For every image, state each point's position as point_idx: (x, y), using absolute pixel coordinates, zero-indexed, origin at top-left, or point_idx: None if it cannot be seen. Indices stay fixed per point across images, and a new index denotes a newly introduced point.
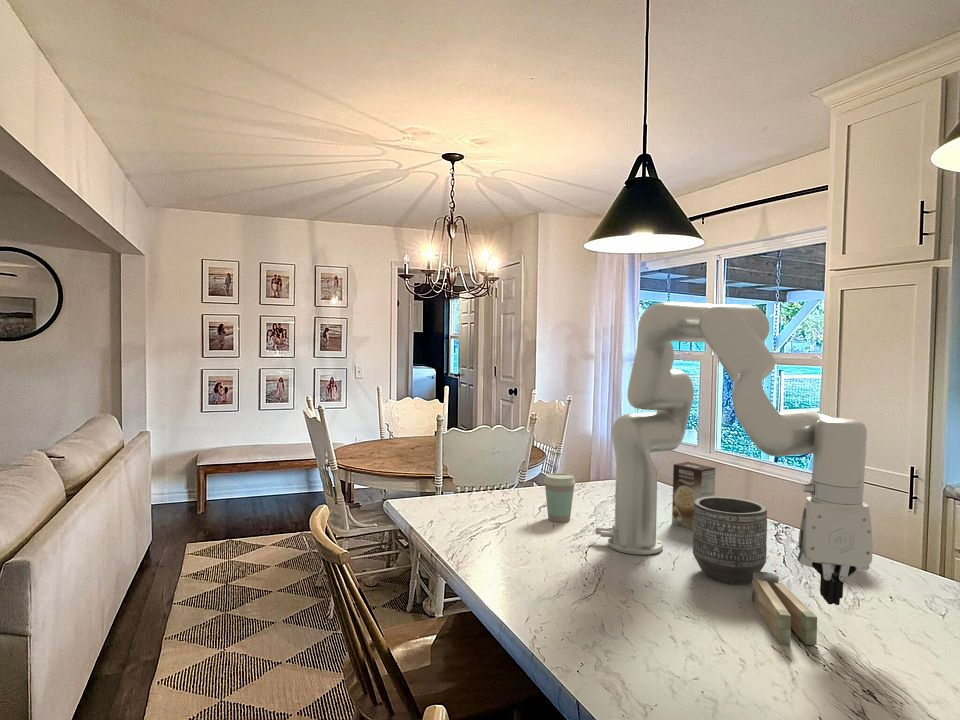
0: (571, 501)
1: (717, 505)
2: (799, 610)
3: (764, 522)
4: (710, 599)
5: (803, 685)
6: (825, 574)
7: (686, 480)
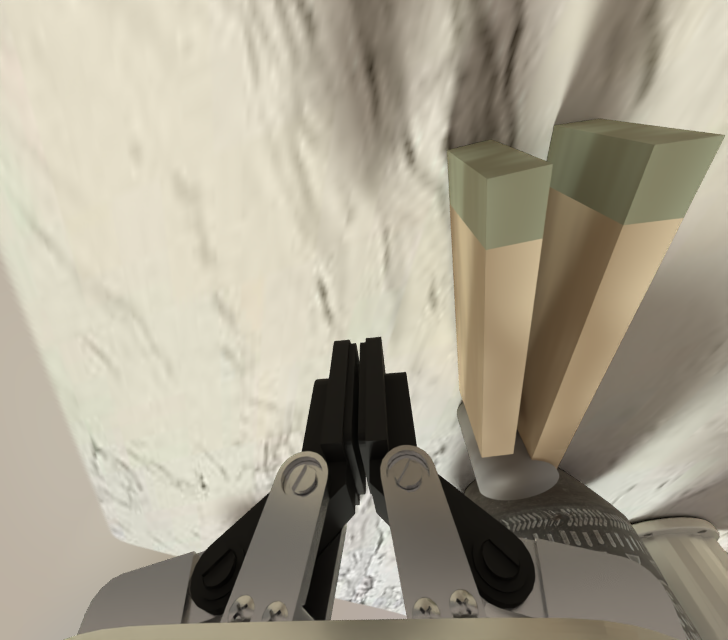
0: None
1: None
2: (536, 259)
3: None
4: (638, 391)
5: None
6: (425, 486)
7: None
